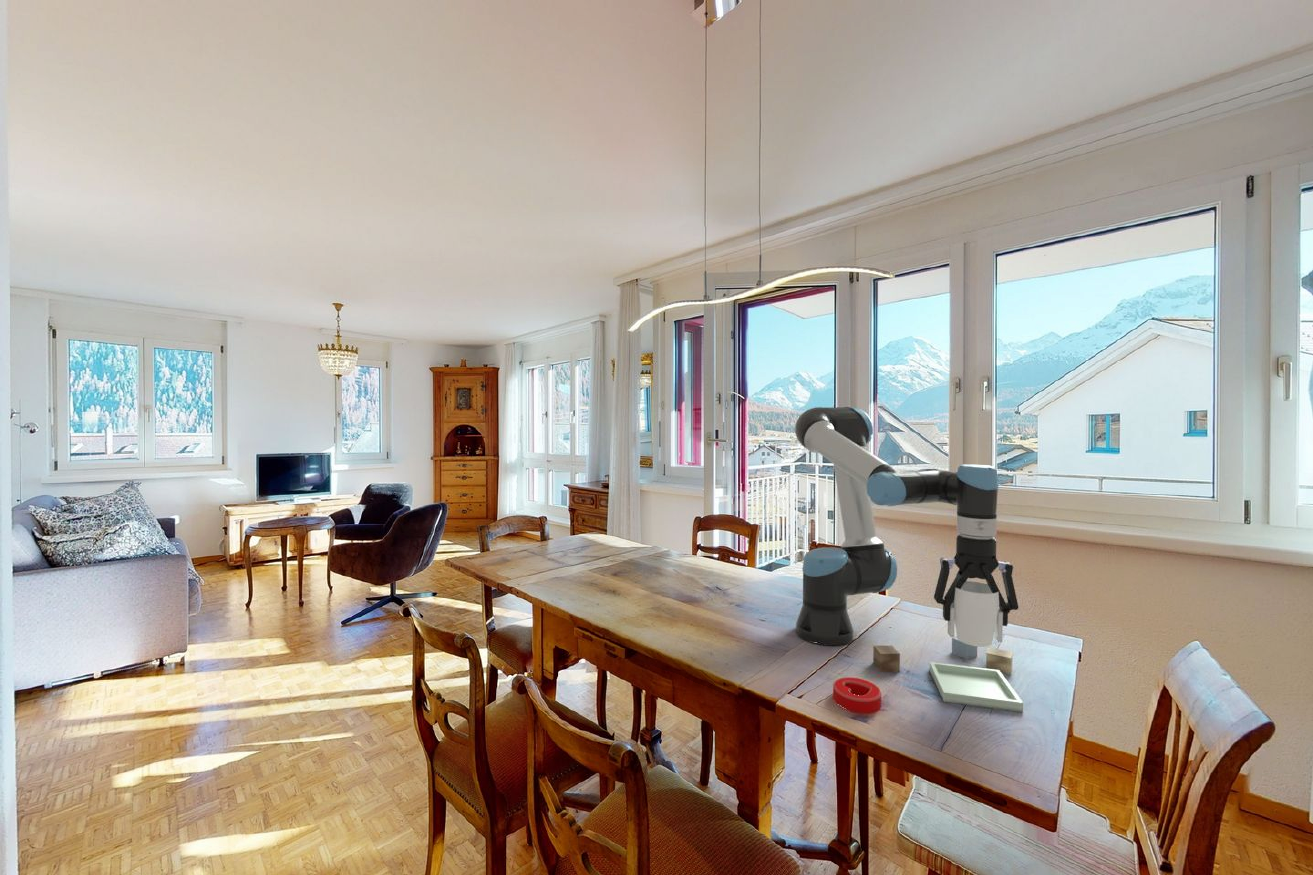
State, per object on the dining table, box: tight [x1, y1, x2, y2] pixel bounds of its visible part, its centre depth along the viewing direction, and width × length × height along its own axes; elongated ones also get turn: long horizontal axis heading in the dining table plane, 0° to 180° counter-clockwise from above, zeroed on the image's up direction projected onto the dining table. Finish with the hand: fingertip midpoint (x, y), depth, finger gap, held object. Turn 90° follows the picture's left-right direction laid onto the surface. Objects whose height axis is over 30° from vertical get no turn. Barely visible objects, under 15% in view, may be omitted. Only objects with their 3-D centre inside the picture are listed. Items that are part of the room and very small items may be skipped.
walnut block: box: [872, 644, 901, 673], centre depth 129 cm, size 4×4×4 cm
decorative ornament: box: [832, 676, 882, 715], centre depth 114 cm, size 10×10×3 cm
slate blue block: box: [951, 636, 978, 660], centre depth 136 cm, size 4×4×4 cm
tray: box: [928, 661, 1024, 713], centre depth 118 cm, size 15×15×2 cm
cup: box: [952, 580, 1000, 648], centre depth 117 cm, size 9×9×12 cm
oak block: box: [985, 646, 1014, 675], centre depth 128 cm, size 5×4×4 cm
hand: (974, 637), depth 118 cm, fingers closed on cup, 9 cm apart
